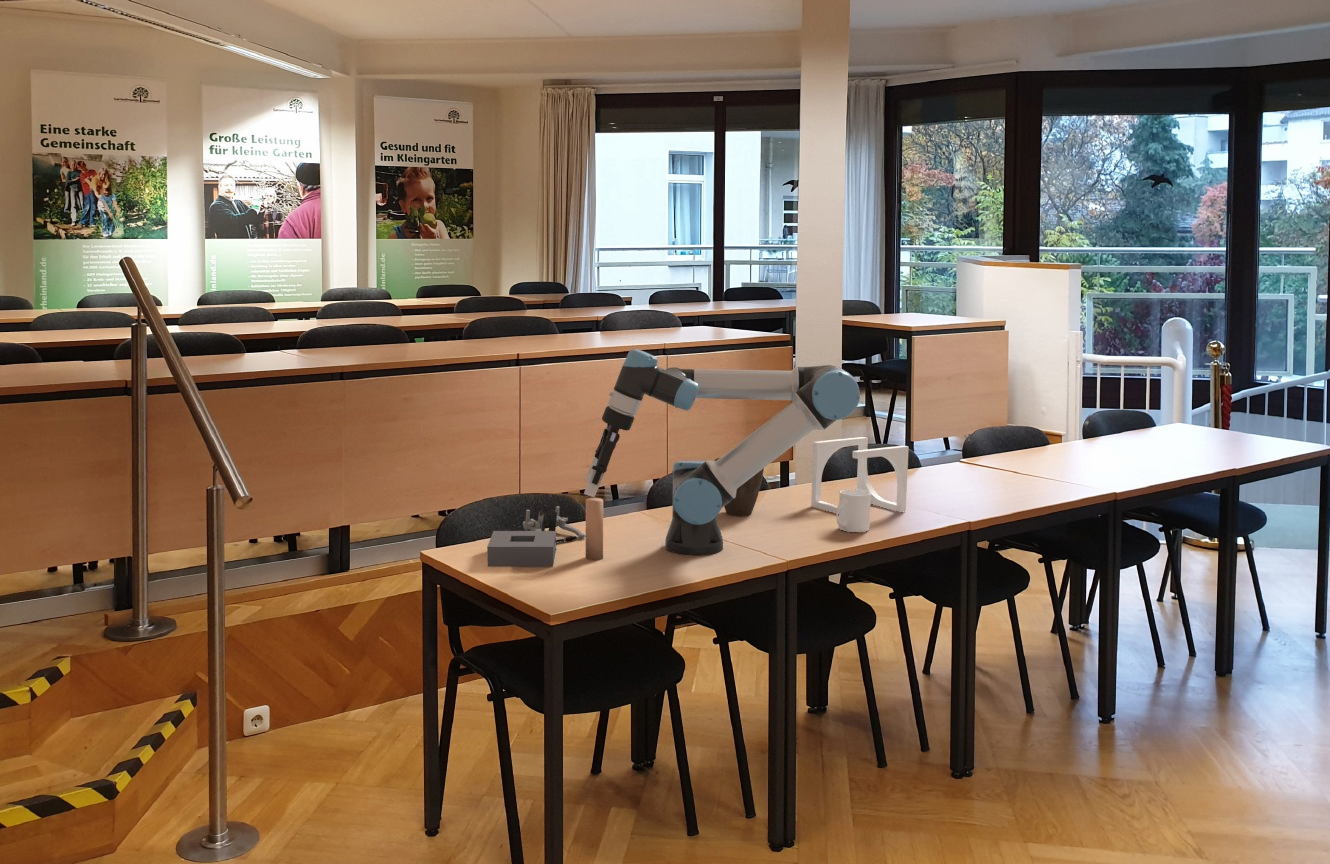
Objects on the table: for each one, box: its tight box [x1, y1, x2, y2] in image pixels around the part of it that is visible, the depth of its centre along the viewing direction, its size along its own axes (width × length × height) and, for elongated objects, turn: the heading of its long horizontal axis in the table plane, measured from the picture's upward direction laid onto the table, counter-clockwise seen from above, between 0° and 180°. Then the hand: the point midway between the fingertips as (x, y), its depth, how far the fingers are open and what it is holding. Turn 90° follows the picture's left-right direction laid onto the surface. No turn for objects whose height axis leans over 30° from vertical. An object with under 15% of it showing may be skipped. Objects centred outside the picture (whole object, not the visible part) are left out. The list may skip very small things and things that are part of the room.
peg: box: [585, 497, 604, 561], centre depth 298 cm, size 4×4×15 cm
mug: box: [835, 488, 871, 533], centre depth 330 cm, size 9×12×11 cm
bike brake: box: [522, 505, 586, 551], centre depth 318 cm, size 14×7×20 cm
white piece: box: [810, 436, 909, 514], centre depth 357 cm, size 20×20×20 cm
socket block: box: [486, 530, 557, 568], centre depth 298 cm, size 16×16×5 cm
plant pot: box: [713, 456, 765, 517], centre depth 349 cm, size 15×15×16 cm
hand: (589, 489), depth 294 cm, fingers open, 13 cm apart
